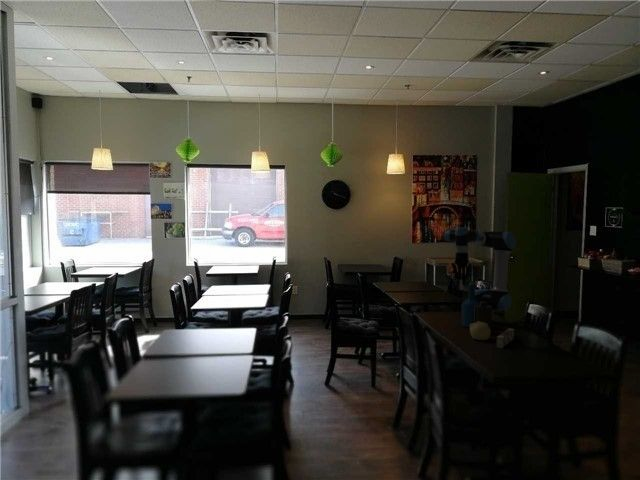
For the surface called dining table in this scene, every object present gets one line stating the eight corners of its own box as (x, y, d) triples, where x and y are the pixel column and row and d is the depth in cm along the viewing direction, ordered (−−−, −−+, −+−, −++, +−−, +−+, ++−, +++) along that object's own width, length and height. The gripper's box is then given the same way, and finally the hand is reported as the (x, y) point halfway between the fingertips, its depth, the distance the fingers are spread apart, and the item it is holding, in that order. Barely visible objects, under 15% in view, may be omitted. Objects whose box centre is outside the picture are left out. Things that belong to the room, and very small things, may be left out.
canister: (489, 330, 302) (489, 300, 301) (493, 334, 292) (494, 303, 291) (472, 330, 303) (472, 300, 302) (476, 334, 293) (476, 303, 292)
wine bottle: (484, 328, 308) (484, 283, 307) (464, 328, 309) (464, 284, 307) (478, 323, 322) (478, 281, 320) (459, 323, 322) (459, 281, 321)
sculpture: (485, 336, 288) (485, 319, 288) (493, 341, 276) (493, 323, 276) (467, 336, 288) (467, 319, 287) (474, 342, 276) (474, 324, 275)
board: (508, 338, 283) (508, 327, 283) (513, 338, 281) (513, 328, 281) (496, 347, 264) (496, 336, 264) (502, 348, 262) (502, 337, 262)
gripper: (449, 252, 287) (449, 289, 288) (469, 253, 279) (469, 291, 280) (453, 251, 293) (453, 288, 294) (474, 252, 285) (474, 289, 286)
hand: (461, 289), depth 287 cm, fingers closed
